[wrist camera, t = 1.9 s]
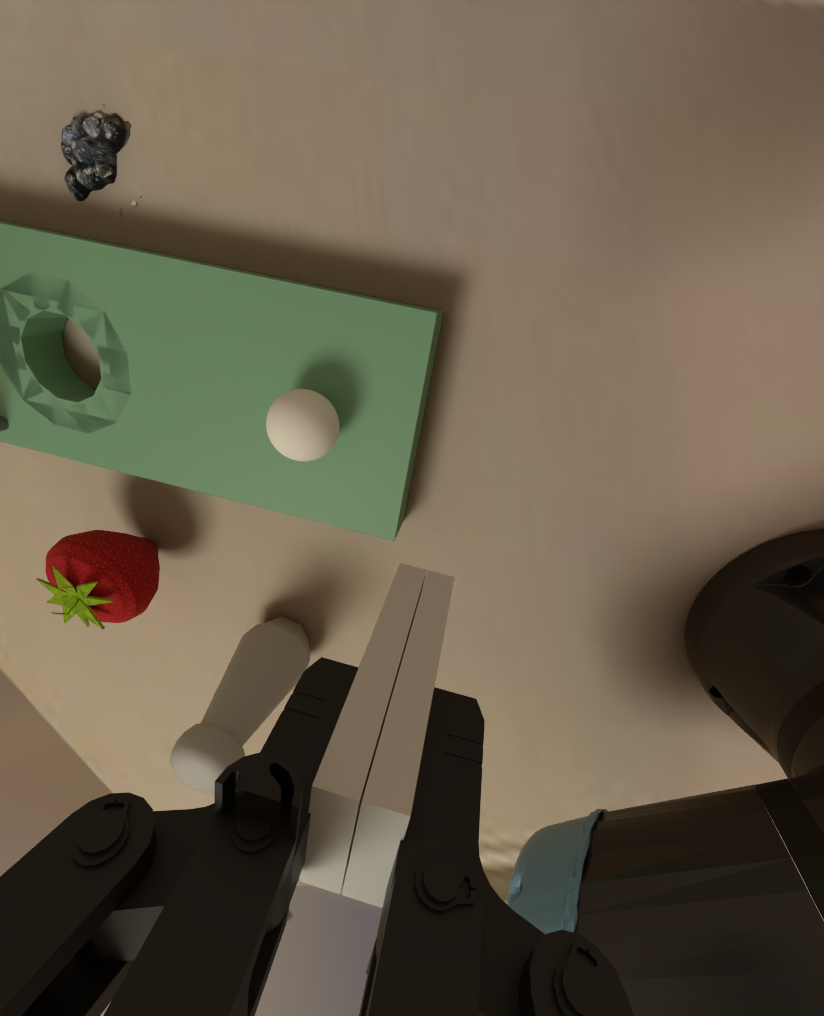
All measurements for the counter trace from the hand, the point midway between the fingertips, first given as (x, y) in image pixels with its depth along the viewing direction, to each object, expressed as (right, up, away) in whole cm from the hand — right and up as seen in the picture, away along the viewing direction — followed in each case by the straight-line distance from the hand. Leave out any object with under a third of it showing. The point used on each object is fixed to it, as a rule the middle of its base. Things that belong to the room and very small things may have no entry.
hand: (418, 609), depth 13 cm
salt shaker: (-11, -8, +26) cm, 30 cm away
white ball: (-6, +8, +13) cm, 16 cm away
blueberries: (-18, +23, +14) cm, 33 cm away
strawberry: (-21, 0, +25) cm, 33 cm away
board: (-14, +12, +18) cm, 26 cm away
